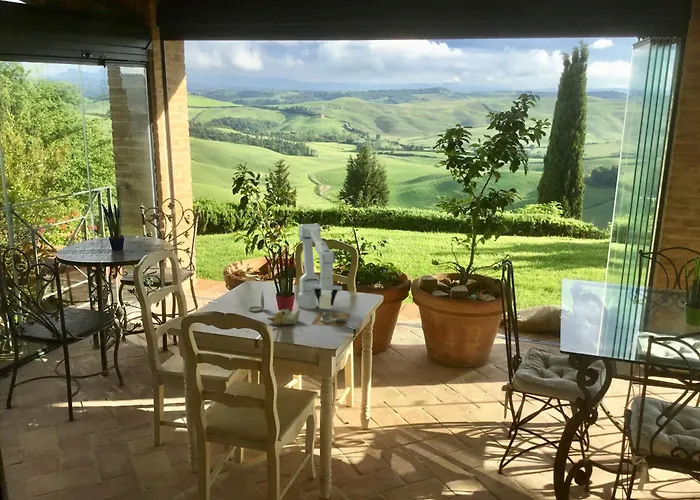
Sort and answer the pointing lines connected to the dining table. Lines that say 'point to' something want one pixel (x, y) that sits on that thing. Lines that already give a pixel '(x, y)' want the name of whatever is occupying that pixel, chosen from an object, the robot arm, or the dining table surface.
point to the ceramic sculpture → (284, 317)
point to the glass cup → (256, 308)
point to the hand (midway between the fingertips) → (326, 304)
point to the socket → (325, 301)
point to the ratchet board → (331, 319)
